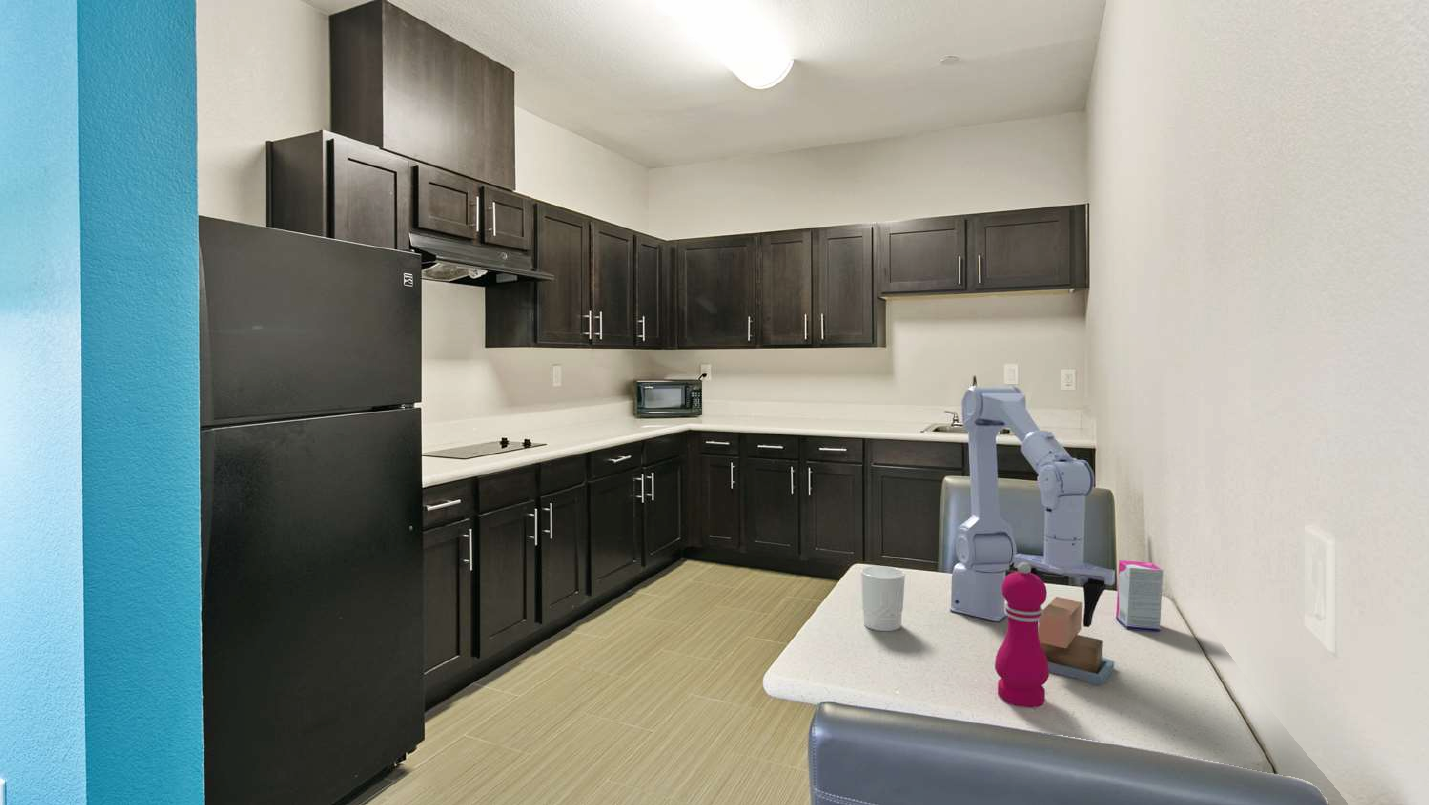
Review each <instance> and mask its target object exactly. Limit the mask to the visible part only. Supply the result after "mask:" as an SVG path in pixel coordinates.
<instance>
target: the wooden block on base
mask: <svg viewBox="0 0 1429 805" xmlns="http://www.w3.org/2000/svg"><path fill="white" fill-rule="evenodd" d="M1038 636H1039V625H1038ZM1040 644H1041V647H1042V650H1043V652H1044V654H1045V656H1046V659H1047V661H1049V662H1053V663H1057V664H1061V665H1064V666H1068V667H1072V668H1076V669H1080V670H1084V671H1088V672H1092V673H1095V674H1098V673H1099V672H1100V671H1101V669H1102V658H1103V647H1104V646H1103V644H1104V640H1102V639H1098V638H1093V637H1088V636H1084V635H1079V634H1077V636H1076V637H1075V638H1074V639H1073V640H1072V642H1071V643H1070V644H1069V645H1068V647H1067V648H1062V647H1058V646H1054V645H1050V644H1046V643H1041V642H1040Z"/></svg>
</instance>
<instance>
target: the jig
mask: <svg viewBox="0 0 1429 805" xmlns="http://www.w3.org/2000/svg"><path fill="white" fill-rule="evenodd" d="M1047 662H1048V666H1049V673H1054V674H1057V675H1061V676H1064V677H1069V678H1073V679H1074V680H1075V679H1076V680H1080V681H1083V682H1086V683H1087V682H1088V683H1090V682H1091V683H1092V684H1095V685H1097V686H1103V685H1104V683H1105V682H1106V681H1107V679H1108V678H1109V676H1110V675H1111V674H1112V672H1113V670H1114V669H1115V660H1111V659H1108V658H1103V657H1102V669H1101V671H1100V672H1099V673H1098V674H1095V673H1092V672H1088V671H1084V670H1080V669H1076V668H1072V667H1068V666H1064V665H1061V664H1057V663H1053V662H1049V661H1047ZM1107 677H1108V678H1107ZM1105 680H1106V681H1105ZM1091 683H1090V684H1091Z"/></svg>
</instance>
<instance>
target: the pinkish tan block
mask: <svg viewBox="0 0 1429 805" xmlns="http://www.w3.org/2000/svg"><path fill="white" fill-rule="evenodd" d="M1041 615H1042V619H1041V620H1039V623H1038V626H1039V640H1040V642H1041V643H1046V644H1050V645H1054V646H1058V647H1062V648H1067V647H1068V645H1069V644H1070V643H1071V642H1072V640H1073V639H1074V638H1075V637H1076V636H1077V635H1079V633H1080V632H1081V631H1082V626H1083V625H1082V624H1083V602H1082V601H1078V600H1074V599H1069V598H1063V597H1058V596H1056V597H1054V599H1052V600H1051V601H1050V602H1049V604H1047V605H1046V606H1045V607H1044V608H1042V613H1041Z"/></svg>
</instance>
